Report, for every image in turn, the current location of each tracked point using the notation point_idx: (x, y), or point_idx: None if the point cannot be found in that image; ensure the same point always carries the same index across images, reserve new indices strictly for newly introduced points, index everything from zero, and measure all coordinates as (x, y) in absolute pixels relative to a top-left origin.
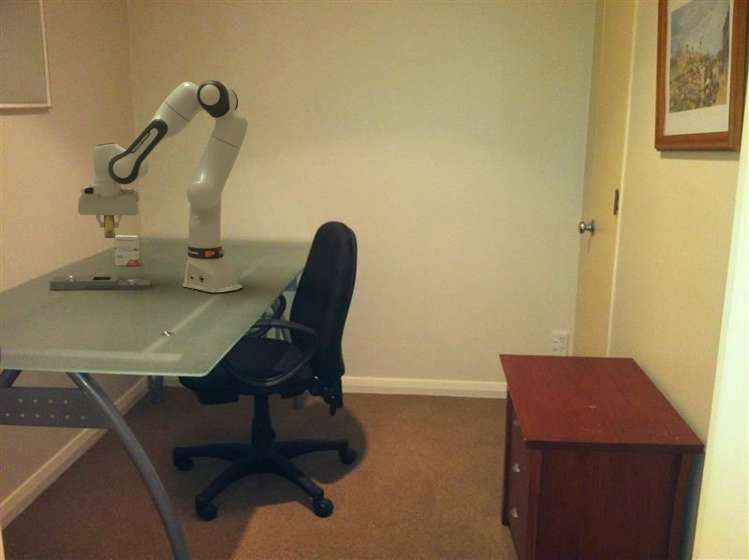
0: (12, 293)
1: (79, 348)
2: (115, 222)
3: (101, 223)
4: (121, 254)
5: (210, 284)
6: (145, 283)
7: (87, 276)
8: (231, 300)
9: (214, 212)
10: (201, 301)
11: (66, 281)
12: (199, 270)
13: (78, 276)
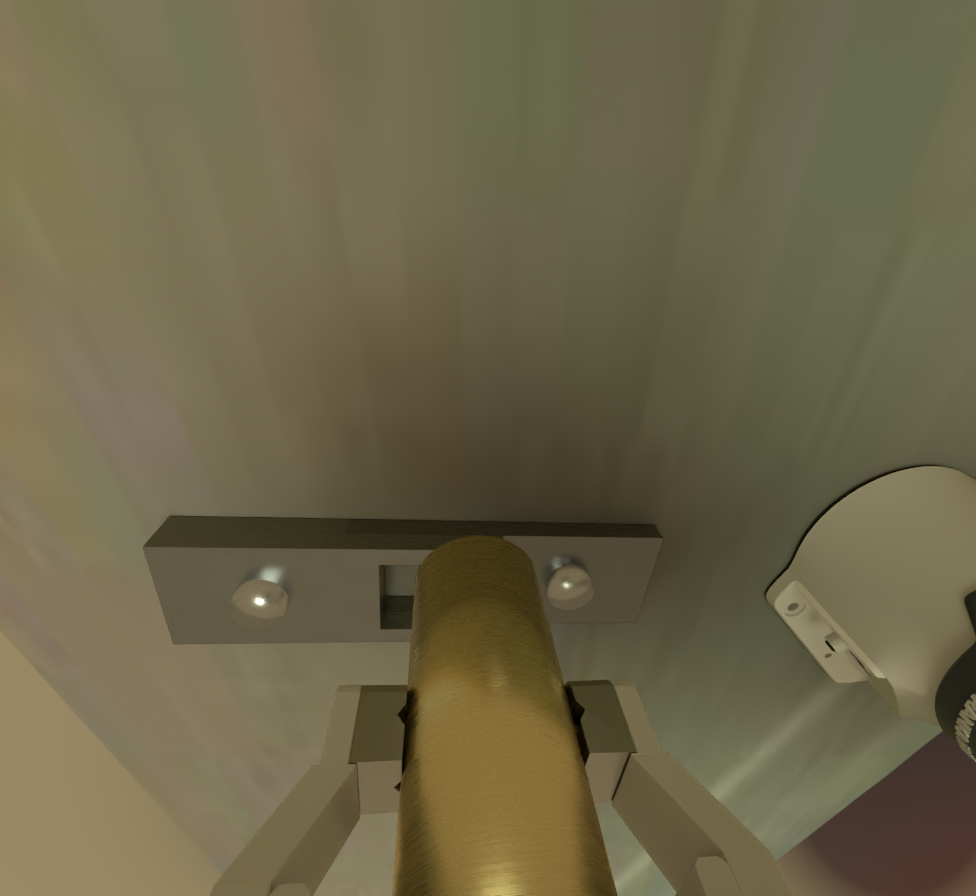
0: (42, 646)
1: None
2: (598, 774)
3: (363, 800)
4: None
5: (862, 672)
6: (623, 600)
7: (338, 556)
8: (844, 730)
9: None
10: (753, 738)
11: (256, 642)
12: (886, 690)
13: (287, 554)
